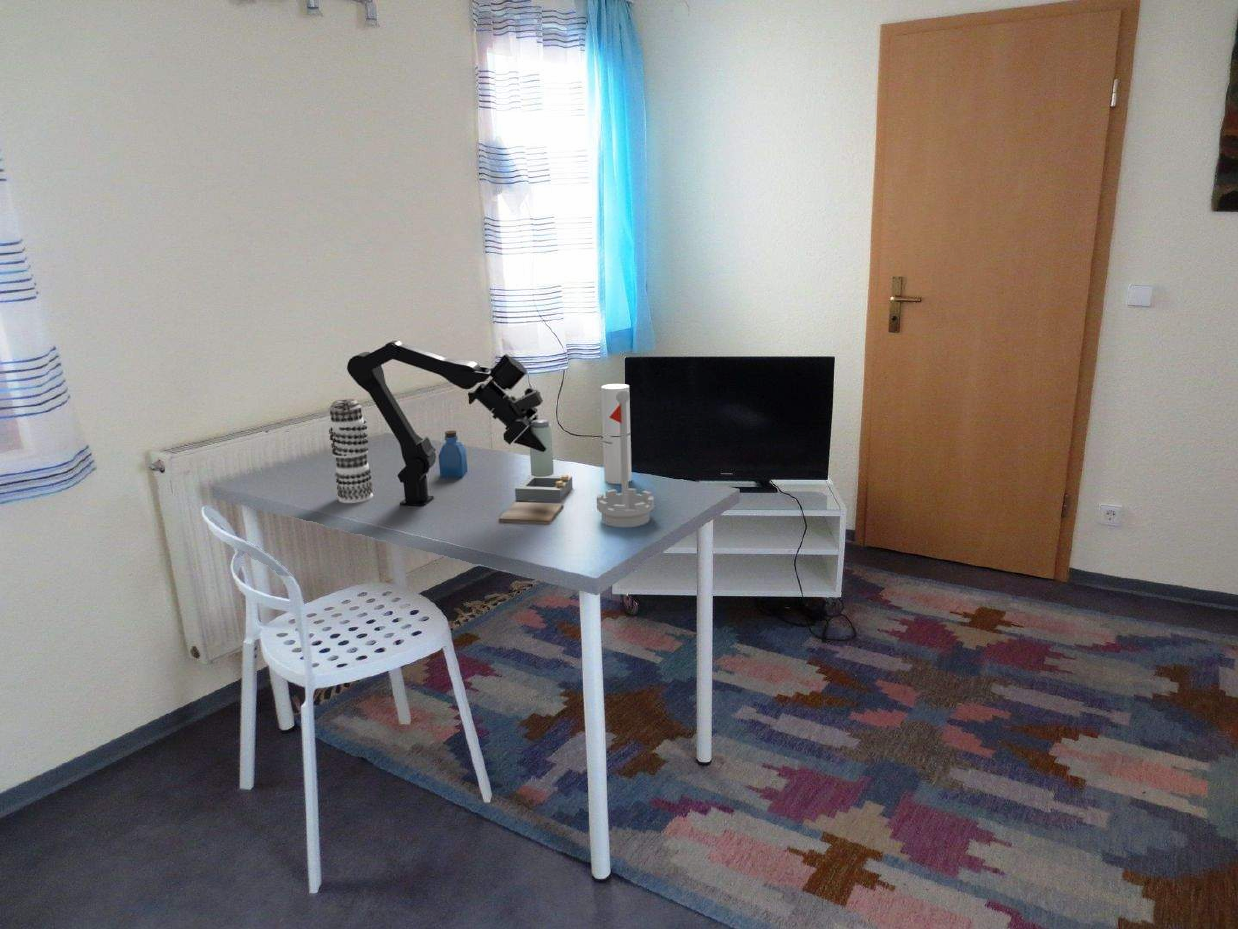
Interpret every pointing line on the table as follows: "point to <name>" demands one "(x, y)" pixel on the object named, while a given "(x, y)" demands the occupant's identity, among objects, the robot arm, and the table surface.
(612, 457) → the cylindrical container
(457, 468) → the perfume bottle
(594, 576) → the table surface
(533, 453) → the grey-lidded mint jar
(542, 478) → the grey square tray
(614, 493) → the flag stand
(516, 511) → the walnut pad
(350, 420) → the decorative candle
